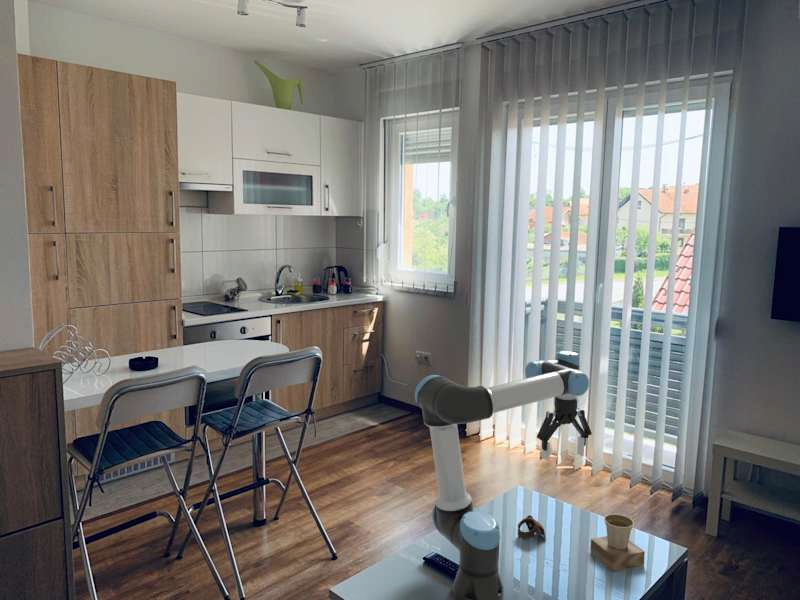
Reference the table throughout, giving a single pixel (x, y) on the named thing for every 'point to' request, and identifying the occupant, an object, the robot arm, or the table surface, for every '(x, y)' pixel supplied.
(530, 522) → the broken clay jug
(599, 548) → the walnut stand
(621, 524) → the flower pot
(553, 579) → the table surface
